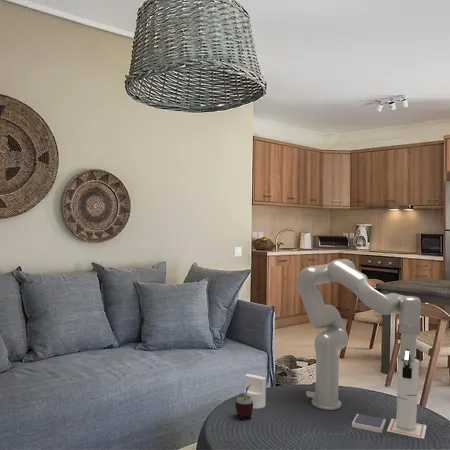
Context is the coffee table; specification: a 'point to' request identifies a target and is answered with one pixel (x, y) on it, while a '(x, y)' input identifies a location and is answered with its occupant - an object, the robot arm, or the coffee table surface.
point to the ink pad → (369, 423)
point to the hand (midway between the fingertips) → (408, 374)
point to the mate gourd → (244, 406)
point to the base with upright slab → (256, 389)
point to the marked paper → (415, 432)
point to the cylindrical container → (407, 396)
